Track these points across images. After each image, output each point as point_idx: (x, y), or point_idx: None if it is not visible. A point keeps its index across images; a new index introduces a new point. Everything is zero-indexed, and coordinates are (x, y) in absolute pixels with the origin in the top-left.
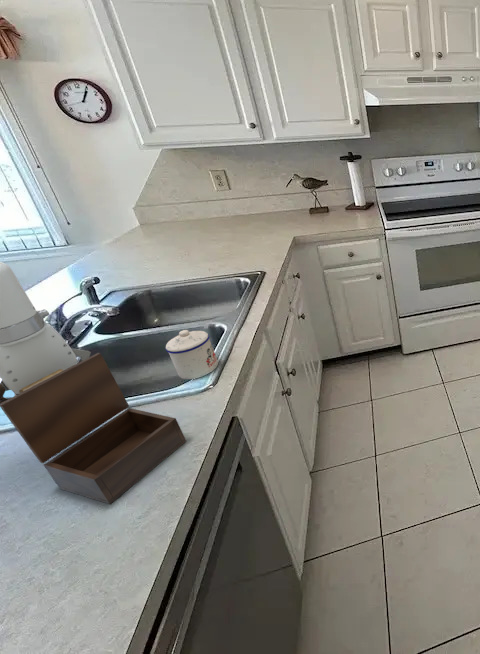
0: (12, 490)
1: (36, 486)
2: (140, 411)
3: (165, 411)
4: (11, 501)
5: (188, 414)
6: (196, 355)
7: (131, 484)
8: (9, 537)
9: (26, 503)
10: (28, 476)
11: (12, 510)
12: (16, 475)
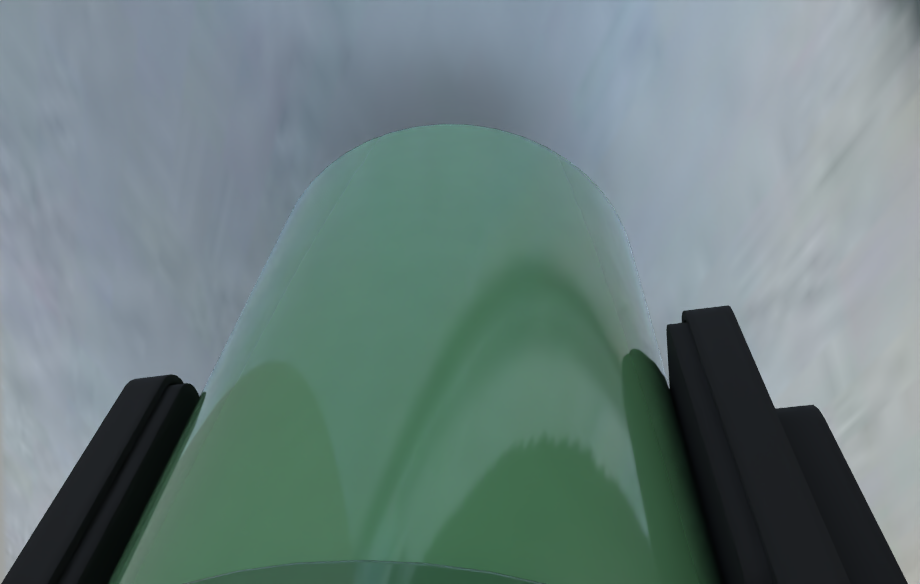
0: (15, 222)
1: (129, 320)
2: None
3: (911, 363)
4: (11, 317)
5: (905, 514)
6: None
7: None
8: (8, 532)
9: (75, 403)
10: (102, 172)
11: (17, 390)
12: (37, 72)
